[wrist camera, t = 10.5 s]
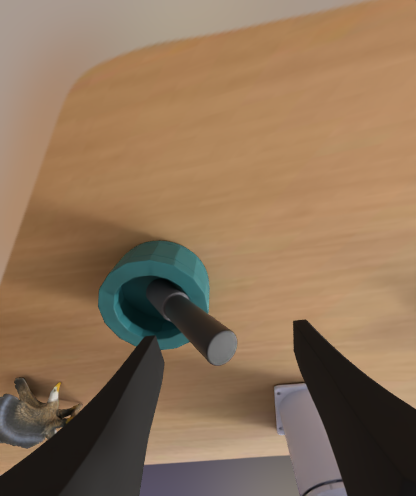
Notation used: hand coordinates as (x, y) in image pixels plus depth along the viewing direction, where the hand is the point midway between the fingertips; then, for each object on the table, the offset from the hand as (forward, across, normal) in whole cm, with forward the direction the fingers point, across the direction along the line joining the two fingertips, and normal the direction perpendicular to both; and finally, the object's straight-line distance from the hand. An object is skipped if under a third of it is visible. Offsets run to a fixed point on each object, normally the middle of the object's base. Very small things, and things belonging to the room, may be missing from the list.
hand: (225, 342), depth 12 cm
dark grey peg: (+9, +6, +2) cm, 11 cm away
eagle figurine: (+11, +24, +16) cm, 31 cm away
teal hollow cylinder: (+10, +6, +2) cm, 12 cm away
